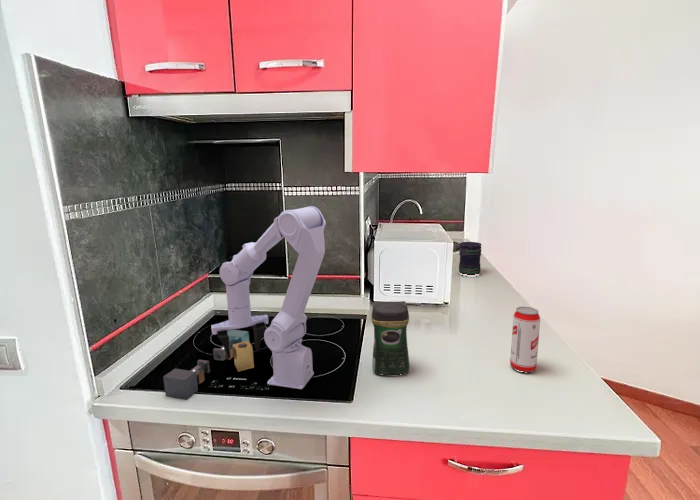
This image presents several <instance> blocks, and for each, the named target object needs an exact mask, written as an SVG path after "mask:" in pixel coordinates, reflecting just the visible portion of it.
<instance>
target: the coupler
mask: <svg viewBox="0 0 700 500" xmlns="http://www.w3.org/2000/svg"><path fill="white" fill-rule="evenodd" d="M253 348H254V347H253V345H252V344H251V342H250V340H249V341H246V342H241V343H237V344H233V356H234V357H233V360H234V366H235V368H236V370H237V372H242V371H246V370H249V369H254V368H255V364H254V363H255V362H254V349H253Z"/></svg>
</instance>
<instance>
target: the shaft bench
mask: <svg viewBox="0 0 700 500" xmlns="http://www.w3.org/2000/svg"><path fill="white" fill-rule="evenodd" d="M227 333H228V336H229V349H230V358H227V356H226V352H225V349H224V346H223V345H222V346H221V347H220V348H217V347H215V348H213V349H212V352H213V353H212V354H213V359H214V360H216V361H222V362H223V361H225V360H228V361H230V360H232V358H234V352H233V344H237V343H241V342H246V341H249V342H250V333H249V331H247V330H240V329H234V330H229V331H227ZM196 364H197V365H196V366H195V367H193V368H191V369H190V370H187V369H180V368H174V369H172V370H171V371H170V372H168V373H166V374H164V375H163V376H162V380H163V387H164V394H165V397H170V398H176V399H180V400H186V401H187V400H188V399H190V398H191V397H192V396H193V395H194V394H196V393H197V392H198V391H199V388H198V385H200V384H202V383H203V382H204V381H205V380H206V379H205V374H209V373H210V372H211V368H210V360H204V359H198V360H197V361H196Z"/></svg>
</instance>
